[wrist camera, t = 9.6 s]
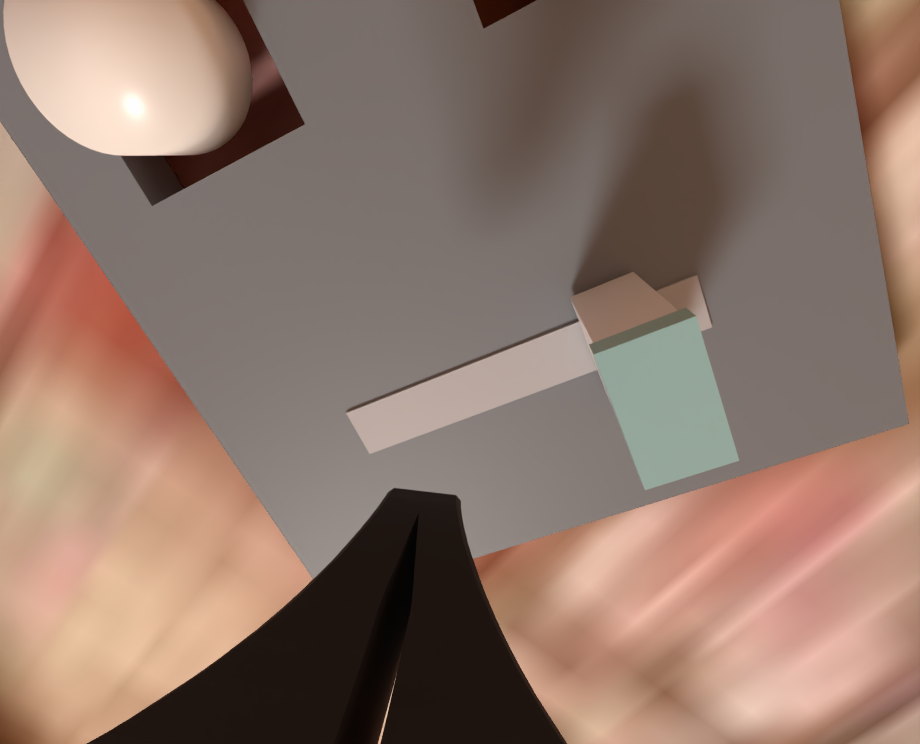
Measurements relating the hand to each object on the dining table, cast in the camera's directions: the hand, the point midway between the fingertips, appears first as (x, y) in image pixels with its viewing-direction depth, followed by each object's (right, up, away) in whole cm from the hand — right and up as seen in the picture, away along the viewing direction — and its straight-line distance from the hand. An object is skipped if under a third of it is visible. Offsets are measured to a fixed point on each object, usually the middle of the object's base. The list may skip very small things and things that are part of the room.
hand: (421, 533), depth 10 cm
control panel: (+1, +8, +6) cm, 10 cm away
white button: (-7, +11, +3) cm, 13 cm away
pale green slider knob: (+5, +4, +5) cm, 8 cm away
